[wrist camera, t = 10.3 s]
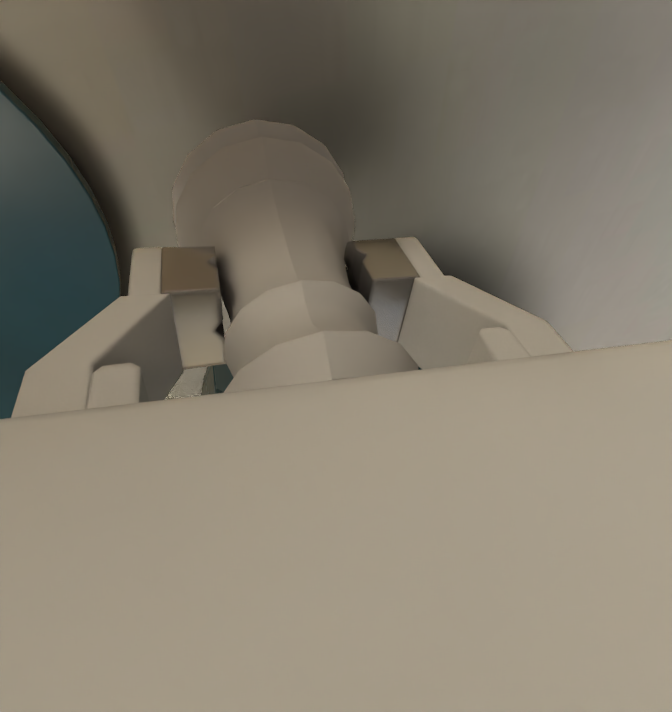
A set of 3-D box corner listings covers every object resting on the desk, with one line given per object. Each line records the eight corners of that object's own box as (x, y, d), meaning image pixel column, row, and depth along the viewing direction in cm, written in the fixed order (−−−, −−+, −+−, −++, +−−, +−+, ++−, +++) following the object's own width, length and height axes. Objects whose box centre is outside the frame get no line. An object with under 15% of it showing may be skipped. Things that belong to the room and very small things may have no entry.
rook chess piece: (150, 117, 10) (126, 381, 5) (346, 106, 11) (524, 318, 5) (190, 285, 13) (204, 561, 8) (340, 266, 14) (450, 502, 9)
